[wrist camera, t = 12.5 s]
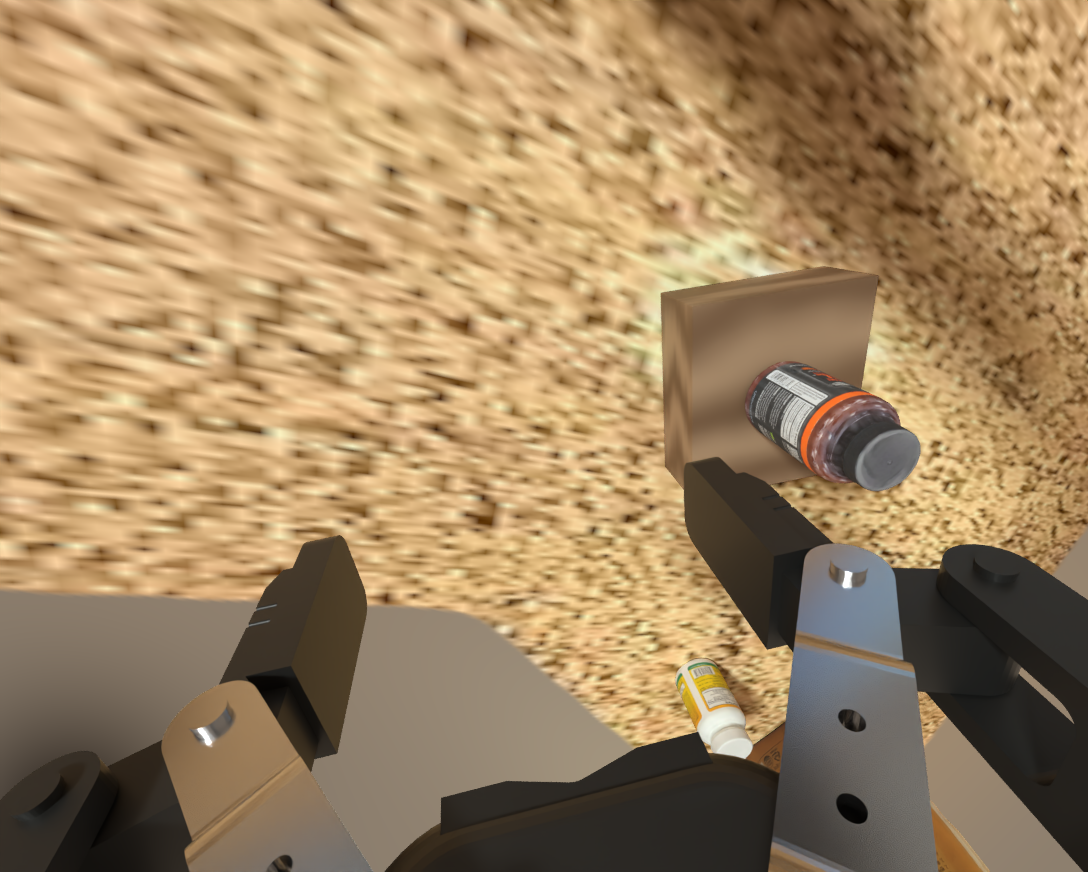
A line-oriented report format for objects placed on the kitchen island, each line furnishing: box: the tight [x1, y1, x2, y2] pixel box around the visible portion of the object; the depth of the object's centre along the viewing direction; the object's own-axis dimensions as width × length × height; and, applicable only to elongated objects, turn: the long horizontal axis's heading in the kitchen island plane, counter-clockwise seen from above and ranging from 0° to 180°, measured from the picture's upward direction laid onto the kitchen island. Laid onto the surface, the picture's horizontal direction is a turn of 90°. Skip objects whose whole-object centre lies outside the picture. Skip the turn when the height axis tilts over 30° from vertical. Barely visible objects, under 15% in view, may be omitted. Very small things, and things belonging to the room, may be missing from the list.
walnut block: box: [661, 266, 879, 489], centre depth 42 cm, size 16×14×6 cm
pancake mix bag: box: [746, 722, 990, 872], centre depth 55 cm, size 7×19×28 cm, turn 135°
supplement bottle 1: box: [675, 658, 753, 759], centre depth 56 cm, size 5×5×10 cm
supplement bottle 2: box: [745, 361, 920, 491], centre depth 34 cm, size 6×6×11 cm
